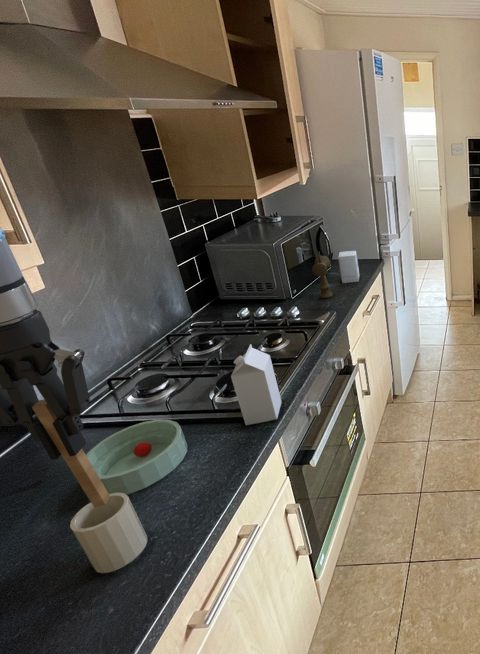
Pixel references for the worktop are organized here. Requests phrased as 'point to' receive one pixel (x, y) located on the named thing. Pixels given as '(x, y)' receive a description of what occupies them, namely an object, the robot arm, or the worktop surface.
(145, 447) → the cherry tomato
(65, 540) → the worktop surface
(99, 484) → the stirring stick
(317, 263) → the kendama
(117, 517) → the crock
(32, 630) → the worktop surface
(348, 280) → the white packaging box
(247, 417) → the milk carton
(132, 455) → the bowl
